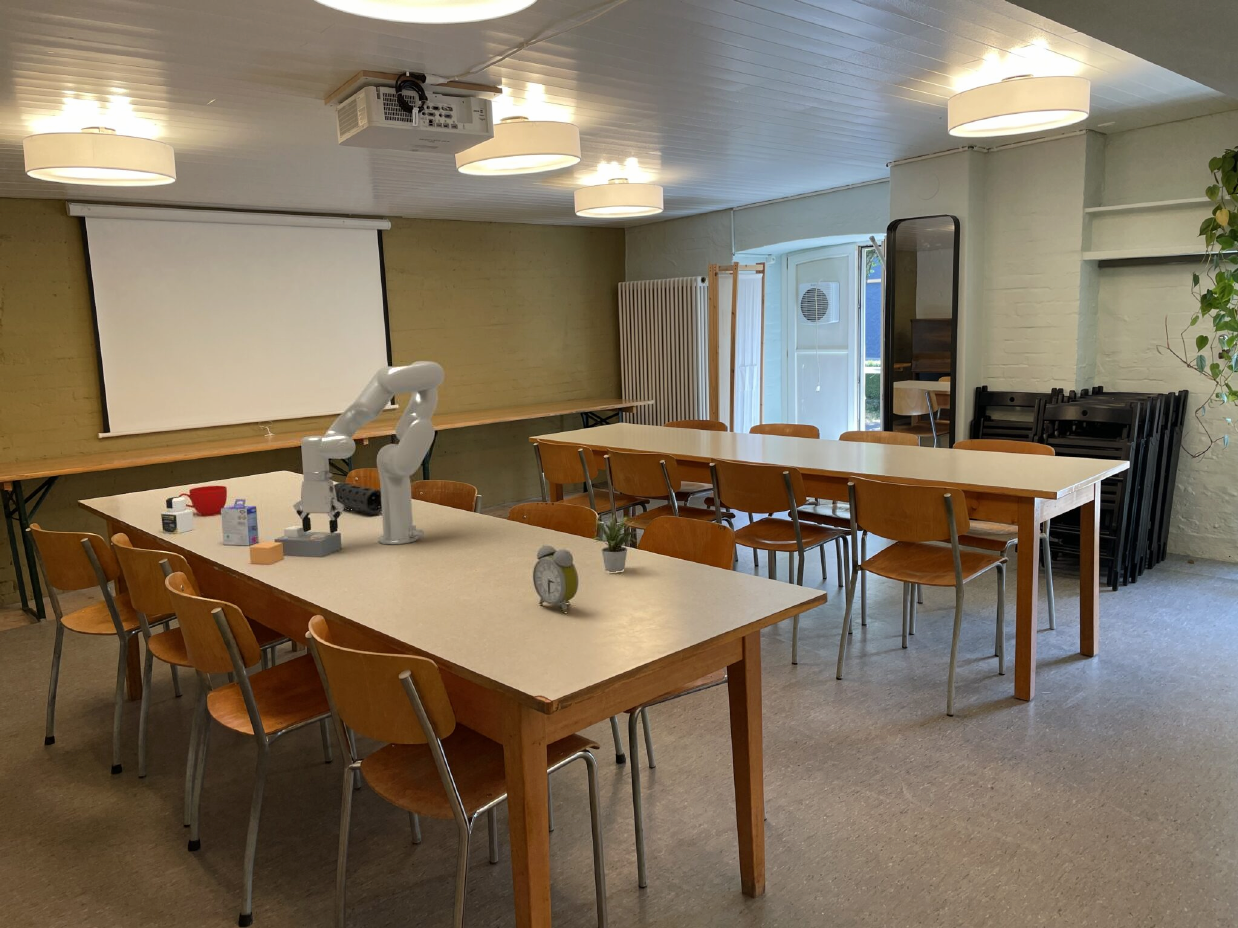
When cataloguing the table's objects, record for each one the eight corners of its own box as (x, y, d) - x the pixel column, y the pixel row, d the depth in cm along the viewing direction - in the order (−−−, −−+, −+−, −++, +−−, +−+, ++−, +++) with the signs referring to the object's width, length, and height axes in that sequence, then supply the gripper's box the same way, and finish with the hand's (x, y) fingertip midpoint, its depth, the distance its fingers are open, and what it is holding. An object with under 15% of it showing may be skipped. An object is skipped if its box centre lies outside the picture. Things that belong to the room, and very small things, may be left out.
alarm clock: (532, 605, 211) (530, 545, 209) (553, 599, 216) (552, 540, 213) (563, 615, 203) (562, 553, 200) (585, 609, 207) (583, 548, 205)
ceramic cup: (180, 513, 334) (178, 488, 332) (228, 509, 341) (226, 484, 339) (179, 520, 322) (176, 493, 321) (229, 515, 329) (226, 489, 328)
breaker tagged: (331, 545, 270) (331, 533, 269) (324, 549, 266) (323, 536, 265) (319, 545, 271) (318, 533, 270) (311, 548, 267) (310, 536, 266)
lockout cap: (283, 558, 261) (282, 542, 261) (270, 564, 255) (269, 547, 254) (264, 557, 263) (263, 541, 262) (250, 563, 257) (249, 547, 256)
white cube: (305, 538, 272) (304, 526, 271) (297, 542, 268) (296, 529, 267) (293, 538, 273) (292, 525, 272) (285, 541, 269) (284, 529, 268)
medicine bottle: (162, 532, 301) (159, 498, 299) (179, 528, 308) (176, 495, 306) (177, 534, 298) (174, 500, 297) (194, 529, 305) (191, 496, 303)
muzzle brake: (366, 518, 319) (364, 491, 318) (327, 509, 338) (326, 483, 337) (388, 514, 326) (386, 487, 324) (350, 505, 345) (348, 480, 343)
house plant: (592, 580, 231) (590, 521, 229) (580, 567, 245) (579, 511, 242) (642, 575, 235) (642, 517, 233) (628, 563, 248) (627, 507, 246)
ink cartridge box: (260, 542, 284) (256, 498, 282) (249, 546, 279) (246, 502, 277) (233, 541, 286) (229, 498, 284) (222, 545, 281) (218, 501, 279)
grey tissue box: (341, 548, 273) (340, 531, 272) (322, 557, 263) (320, 539, 262) (296, 546, 277) (295, 529, 276) (275, 555, 266) (274, 537, 265)
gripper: (348, 475, 267) (352, 529, 269) (298, 474, 271) (302, 527, 273) (335, 478, 260) (339, 535, 262) (284, 477, 263) (288, 533, 266)
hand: (320, 531), depth 268 cm, fingers open, 8 cm apart
